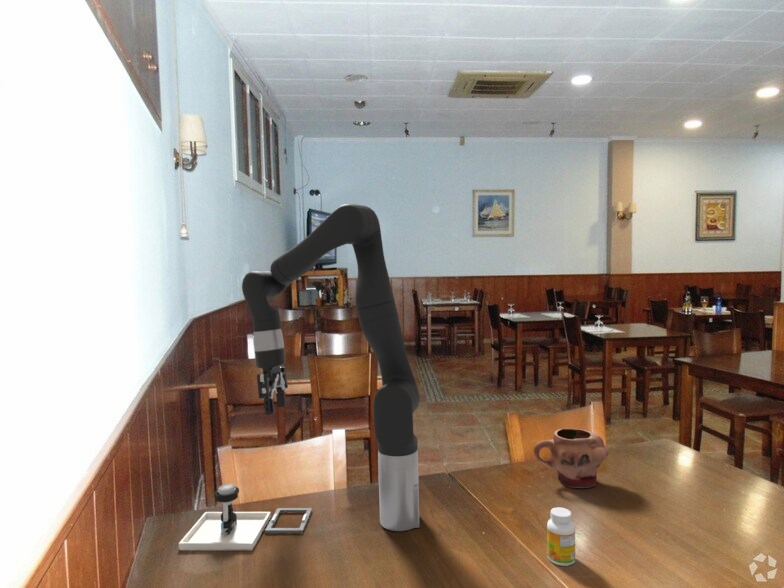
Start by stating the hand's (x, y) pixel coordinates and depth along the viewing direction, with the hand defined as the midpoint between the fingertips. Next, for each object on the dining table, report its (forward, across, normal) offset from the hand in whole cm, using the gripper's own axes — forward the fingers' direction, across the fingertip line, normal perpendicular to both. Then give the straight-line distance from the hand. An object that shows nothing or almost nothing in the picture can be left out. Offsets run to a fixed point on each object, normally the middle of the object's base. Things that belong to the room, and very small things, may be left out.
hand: (276, 410), depth 131 cm
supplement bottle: (+31, -20, -64) cm, 74 cm away
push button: (+24, -16, +8) cm, 30 cm away
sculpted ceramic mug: (+30, +17, -74) cm, 82 cm away
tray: (+24, -16, +8) cm, 30 cm away
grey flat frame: (+24, -10, -4) cm, 27 cm away
